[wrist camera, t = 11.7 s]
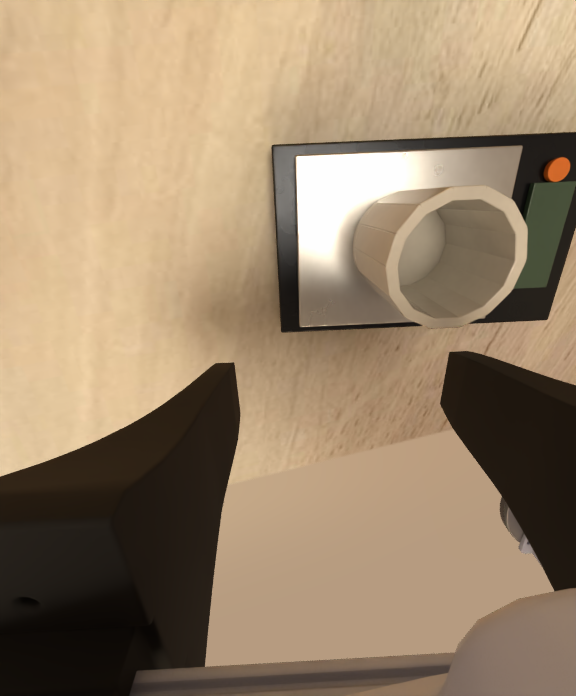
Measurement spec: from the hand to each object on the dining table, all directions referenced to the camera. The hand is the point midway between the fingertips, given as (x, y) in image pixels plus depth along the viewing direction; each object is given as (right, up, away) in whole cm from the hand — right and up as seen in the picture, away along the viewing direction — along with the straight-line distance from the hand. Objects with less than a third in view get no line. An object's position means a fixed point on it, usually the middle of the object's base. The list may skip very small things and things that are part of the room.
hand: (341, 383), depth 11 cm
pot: (+4, +6, +5) cm, 9 cm away
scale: (+5, +7, +7) cm, 11 cm away
